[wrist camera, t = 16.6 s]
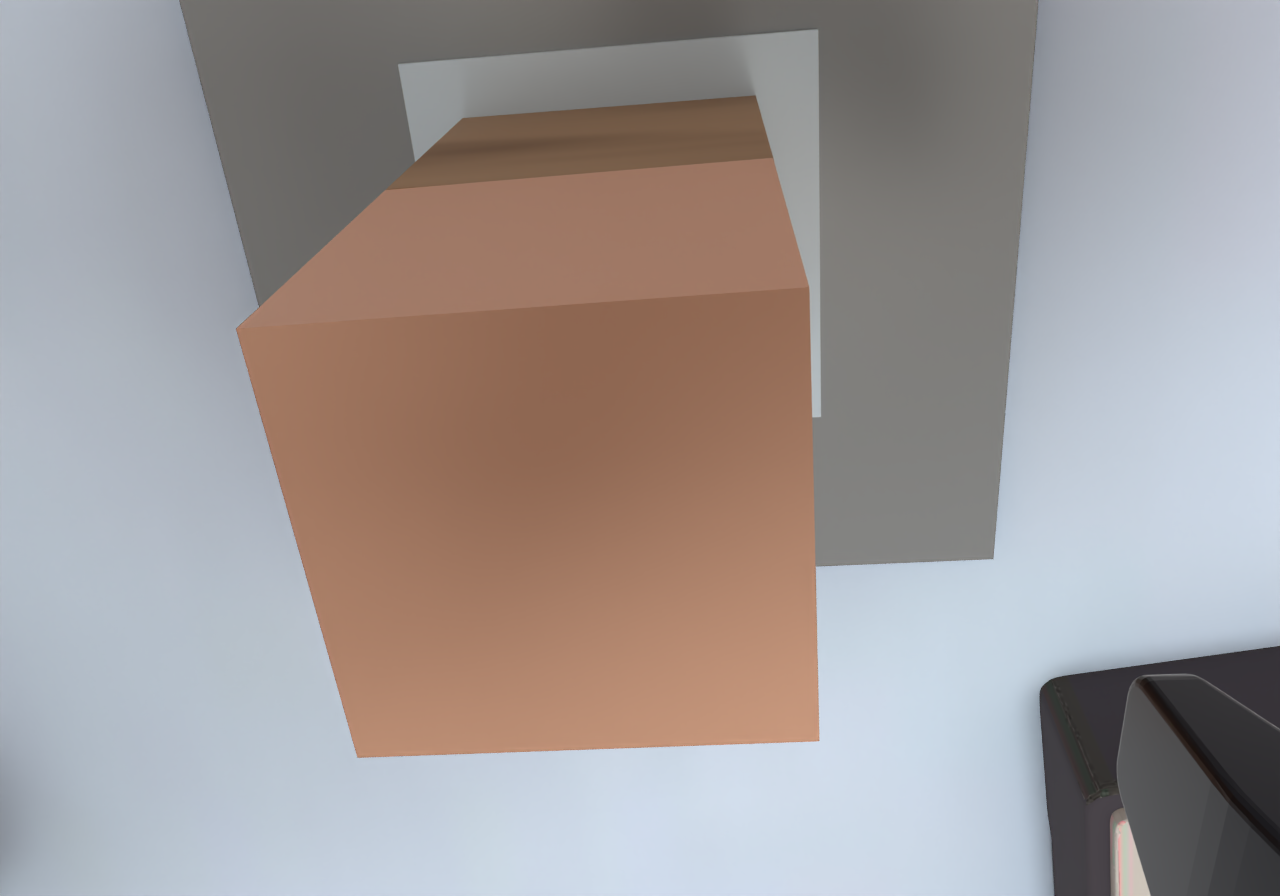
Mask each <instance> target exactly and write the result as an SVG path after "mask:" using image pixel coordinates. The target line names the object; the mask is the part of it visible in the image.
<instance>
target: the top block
mask: <svg viewBox="0 0 1280 896" xmlns="http://www.w3.org/2000/svg"><path fill="white" fill-rule="evenodd" d="M236 331H237V334H238V338H239V341H240V345H241V348H242V352H243V355H244V359H245V362H246V366H247V369H248V373H249V376H250V380H251V383H252V387H253V390H254V394H255V398H256V401H257V405H258V408H259V412H260V415H261V419H262V422H263V426H264V429H265V433H266V436H267V440H268V443H269V447H270V450H271V454H272V458H273V461H274V465H275V468H276V472H277V475H278V479H279V482H280V486H281V489H282V493H283V496H284V500H285V503H286V507H287V510H288V514H289V518H290V521H291V525H292V528H293V532H294V535H295V539H296V542H297V546H298V549H299V553H300V556H301V560H302V563H303V567H304V570H305V574H306V578H307V581H308V585H309V588H310V592H311V595H312V599H313V602H314V606H315V609H316V613H317V616H318V620H319V623H320V627H321V630H322V634H323V638H324V641H325V645H326V648H327V652H328V655H329V659H330V662H331V666H332V669H333V673H334V676H335V680H336V683H337V687H338V690H339V694H340V698H341V701H342V705H343V708H344V712H345V715H346V719H347V722H348V726H349V729H350V733H351V736H352V740H353V743H354V747H355V750H356V754H357V757H358V758H362V757H390V756H418V755H446V754H474V753H502V752H530V751H558V750H586V749H614V748H642V747H670V746H698V745H726V744H754V743H782V742H810V741H819V705H818V659H817V613H816V567H815V521H814V475H813V429H812V383H811V338H810V292H809V284H808V280H807V277H806V273H805V270H804V266H803V263H802V259H801V256H800V252H799V249H798V245H797V241H796V238H795V234H794V231H793V227H792V224H791V220H790V217H789V213H788V209H787V206H786V202H785V199H784V195H783V192H782V188H781V185H780V181H779V178H778V174H777V170H776V167H775V163H774V160H773V158H764V159H752V160H740V161H728V162H716V163H704V164H692V165H680V166H668V167H656V168H644V169H632V170H620V171H608V172H596V173H584V174H572V175H560V176H548V177H536V178H524V179H512V180H500V181H488V182H476V183H464V184H452V185H440V186H428V187H416V188H404V189H392V190H385V191H384V192H383V193H382V194H380V195H379V196H378V197H377V198H376V199H375V200H374V201H373V202H372V203H371V204H370V205H369V206H368V207H366V208H365V209H364V210H363V211H362V212H361V213H360V214H359V215H358V216H357V217H356V218H355V219H354V220H352V221H351V222H350V223H349V224H348V225H347V226H346V227H345V228H344V229H343V230H342V231H341V232H340V233H338V234H337V235H336V236H335V237H334V238H333V239H332V240H331V241H330V242H329V243H328V244H327V245H326V246H325V247H323V248H322V249H321V250H320V251H319V252H318V253H317V254H316V255H315V256H314V257H313V258H312V259H311V260H309V261H308V262H307V263H306V264H305V265H304V266H303V267H302V268H301V269H300V270H299V271H298V272H297V273H295V274H294V275H293V276H292V277H291V278H290V279H289V280H288V281H287V282H286V283H285V284H284V285H283V286H282V287H280V288H279V289H278V290H277V291H276V292H275V293H274V294H273V295H272V296H271V297H270V298H269V299H268V300H266V301H265V302H264V303H263V304H262V305H261V306H260V307H259V308H258V309H257V310H256V311H255V312H254V313H252V314H251V315H250V316H249V317H248V318H247V319H246V320H245V321H244V322H243V323H242V324H241V325H240V326H239V327H237V328H236Z"/></svg>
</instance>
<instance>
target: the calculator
mask: <svg viewBox="0 0 1280 896" xmlns="http://www.w3.org/2000/svg"><path fill="white" fill-rule="evenodd" d="M1160 674H1192V675H1196V676H1198V677H1200V678H1202V679H1204V680H1206V681H1207V682H1209V683H1210V684H1212V685H1214V686H1215V687H1217V688H1218V689H1220V690H1221V691H1223V692H1224V693H1226V694H1227V695H1229V696H1230V697H1232V698H1233V699H1235V700H1236V701H1238V702H1239V703H1241V704H1242V705H1244V706H1245V707H1247V708H1249V709H1250V710H1252V711H1253V712H1255V713H1256V714H1258V715H1259V716H1261V717H1262V718H1264V719H1265V720H1267V721H1268V722H1270V723H1271V724H1273V725H1274V726H1276V727H1277V728H1279V729H1280V646H1277V647H1270V648H1263V649H1256V650H1248V651H1241V652H1234V653H1227V654H1219V655H1212V656H1205V657H1198V658H1190V659H1183V660H1176V661H1169V662H1161V663H1154V664H1147V665H1140V666H1132V667H1125V668H1118V669H1111V670H1103V671H1096V672H1089V673H1082V674H1075V675H1068V676H1062V677H1057V678H1054V679H1051V680H1050V681H1048V682H1046V683H1045V684H1044V686H1043V687H1042V688H1041V691H1040V715H1041V729H1042V743H1043V757H1044V771H1045V785H1046V799H1047V811H1048V819H1049V824H1050V830H1051V835H1052V848H1053V867H1054V886H1055V896H1150V892H1149V889H1148V886H1147V882H1146V879H1145V876H1144V872H1143V869H1142V866H1141V863H1140V859H1139V856H1138V853H1137V849H1136V846H1135V843H1134V839H1133V836H1132V833H1131V829H1130V826H1129V823H1128V819H1127V816H1126V813H1125V809H1124V806H1123V803H1122V800H1121V796H1120V792H1119V787H1118V780H1117V757H1118V751H1119V745H1120V739H1121V733H1122V727H1123V720H1124V714H1125V708H1126V702H1127V696H1128V691H1129V688H1130V686H1131V684H1132V682H1133V681H1134V680H1135V679H1136V678H1138V677H1140V676H1142V675H1160Z"/></svg>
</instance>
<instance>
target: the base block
mask: <svg viewBox="0 0 1280 896" xmlns="http://www.w3.org/2000/svg"><path fill="white" fill-rule="evenodd" d="M764 158H773V155H772V151H771V148H770V144H769V141H768V137H767V134H766V130H765V127H764V123H763V120H762V116H761V113H760V109H759V106H758V102H757V98H756V95H754V96H741V97H728V98H716V99H703V100H690V101H677V102H664V103H651V104H638V105H625V106H612V107H599V108H587V109H574V110H561V111H548V112H535V113H522V114H509V115H496V116H483V117H470V118H462V119H461V120H460V121H459V122H458V123H457V124H456V125H455V126H454V127H452V128H451V129H450V130H449V131H448V132H447V133H446V134H445V135H444V136H443V137H442V138H441V139H440V140H438V141H437V142H436V143H435V144H434V145H433V146H432V147H431V148H430V149H429V150H428V151H427V152H426V153H424V154H423V155H422V156H421V157H420V158H419V159H418V160H417V161H416V162H415V163H414V164H413V165H412V166H410V167H409V168H408V169H407V170H406V171H405V172H404V173H403V174H402V175H401V176H400V177H399V178H398V179H396V180H395V181H394V182H393V183H392V184H391V185H390V186H389V187H388V188H387V189H386V190H392V189H404V188H416V187H428V186H440V185H452V184H464V183H476V182H488V181H500V180H512V179H524V178H536V177H548V176H560V175H572V174H584V173H596V172H608V171H620V170H632V169H644V168H656V167H668V166H680V165H692V164H704V163H716V162H728V161H740V160H752V159H764ZM773 160H774V158H773Z"/></svg>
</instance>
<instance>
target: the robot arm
mask: <svg viewBox="0 0 1280 896" xmlns="http://www.w3.org/2000/svg"><path fill="white" fill-rule="evenodd" d="M1117 780H1118V787H1119V792H1120V796H1121V800H1122V803H1123V806H1124V809H1125V813H1126V816H1127V819H1128V823H1129V826H1130V829H1131V833H1132V836H1133V839H1134V843H1135V846H1136V849H1137V853H1138V856H1139V859H1140V863H1141V866H1142V869H1143V872H1144V876H1145V879H1146V882H1147V886H1148V889H1149V892H1150V896H1280V729H1279V728H1277V727H1276V726H1274V725H1273V724H1271V723H1270V722H1268V721H1267V720H1265V719H1264V718H1262V717H1261V716H1259V715H1258V714H1256V713H1255V712H1253V711H1252V710H1250V709H1249V708H1247V707H1245V706H1244V705H1242V704H1241V703H1239V702H1238V701H1236V700H1235V699H1233V698H1232V697H1230V696H1229V695H1227V694H1226V693H1224V692H1223V691H1221V690H1220V689H1218V688H1217V687H1215V686H1214V685H1212V684H1210V683H1209V682H1207V681H1206V680H1204V679H1202V678H1200V677H1198V676H1196V675H1192V674H1160V675H1142V676H1140V677H1138V678H1136V679H1135V680H1134V681H1133V682H1132V684H1131V686H1130V688H1129V691H1128V696H1127V702H1126V708H1125V714H1124V720H1123V727H1122V733H1121V739H1120V745H1119V751H1118V757H1117Z"/></svg>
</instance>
